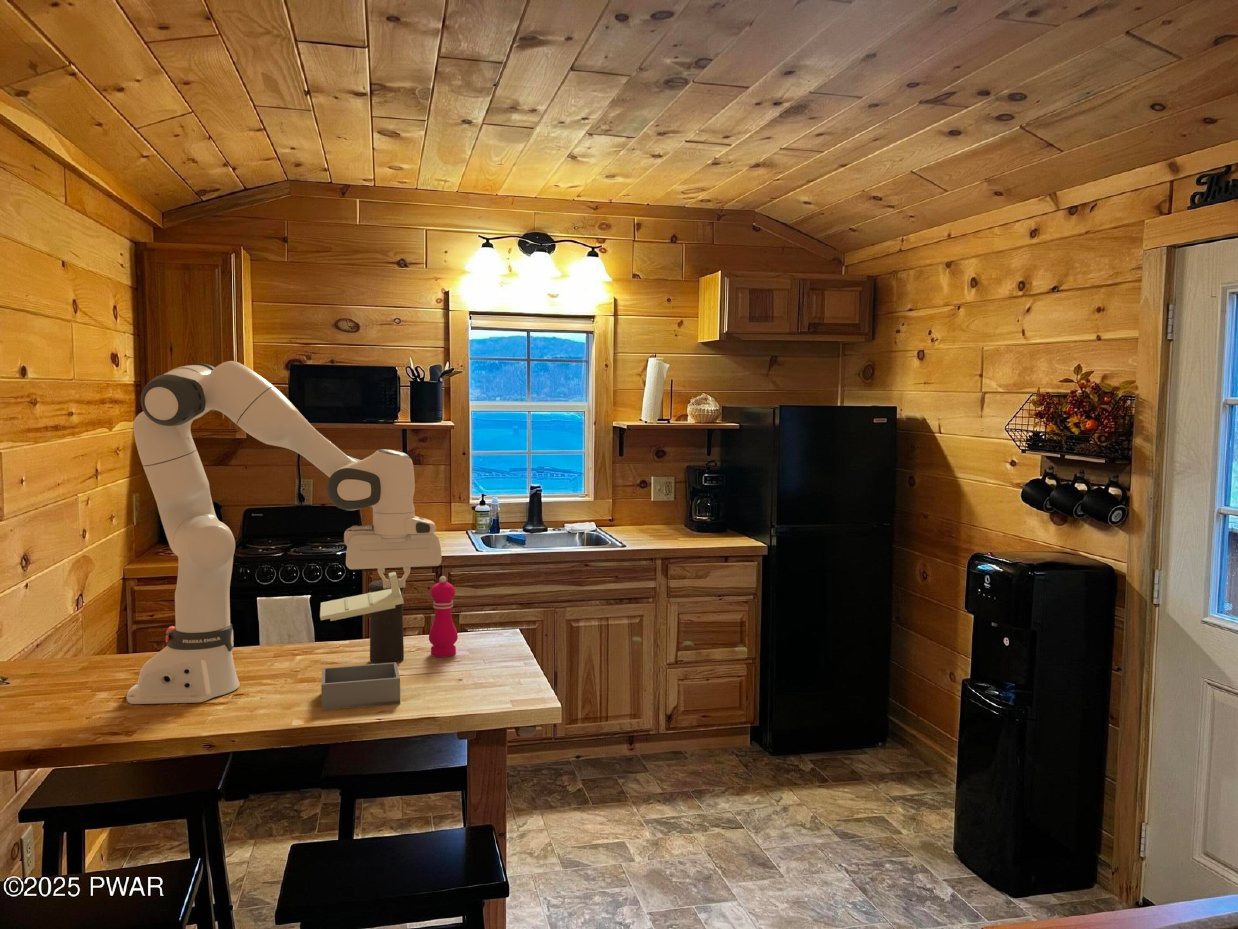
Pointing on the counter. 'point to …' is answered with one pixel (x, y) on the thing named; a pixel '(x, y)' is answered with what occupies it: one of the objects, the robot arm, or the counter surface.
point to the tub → (360, 686)
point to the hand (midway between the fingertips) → (394, 587)
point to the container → (386, 631)
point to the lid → (363, 602)
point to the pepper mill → (443, 620)
